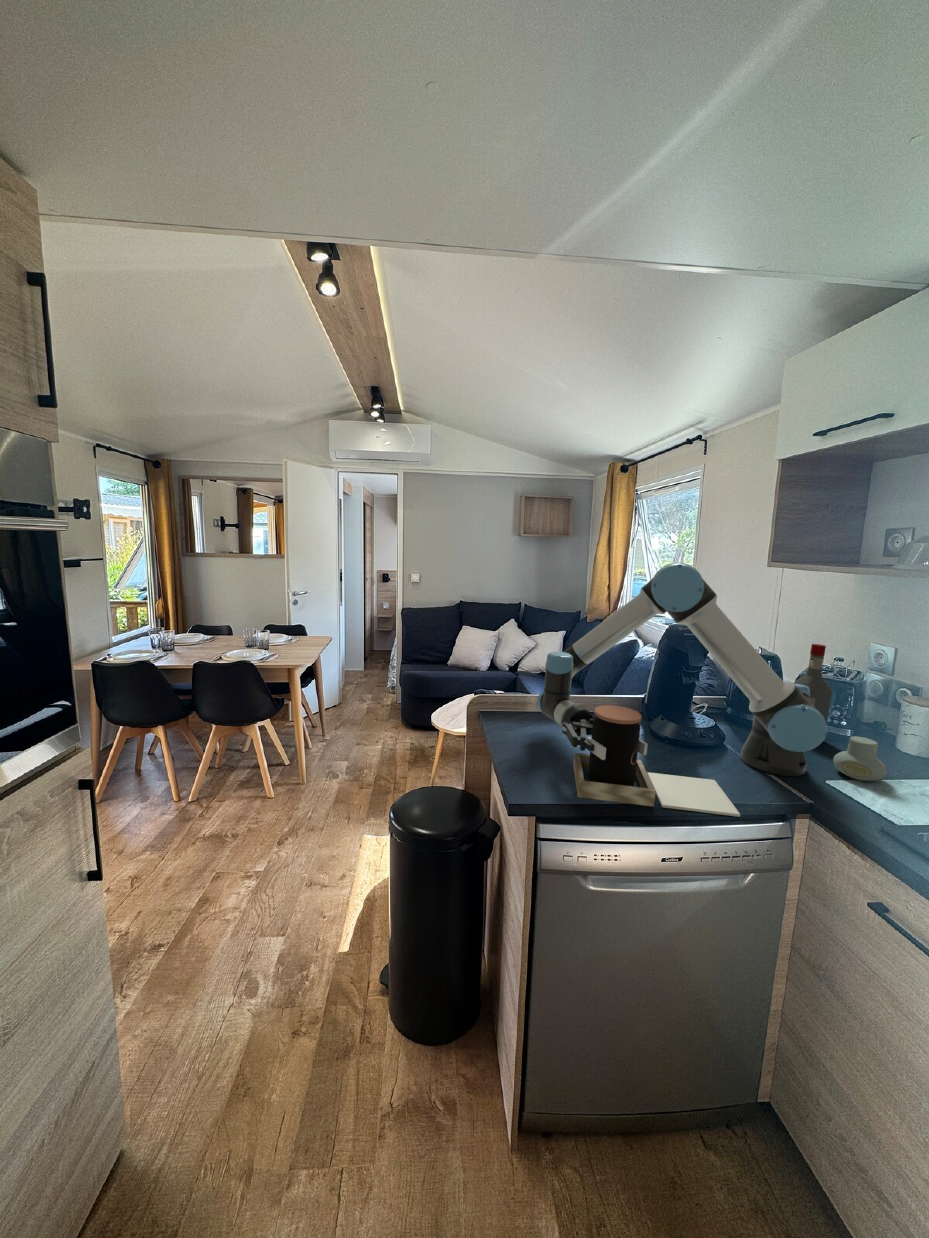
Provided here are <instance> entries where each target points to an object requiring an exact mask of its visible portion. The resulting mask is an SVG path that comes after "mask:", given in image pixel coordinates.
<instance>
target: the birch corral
mask: <svg viewBox="0 0 929 1238" xmlns="http://www.w3.org/2000/svg"><path fill="white" fill-rule="evenodd" d="M573 755H574V756H573V763H572V765H573V772H574V780H575V787H576V792H577V798H581V799H592V800H596V801H606V802H613V803H622V804H630V805H639V806H646V807H655V799H656V793H655V790H654V787H653V785H652V783H651V781H650V779H649V777H648V775H647V770H646V768H645V766H644V764H643V762H642V760H640V759H637V763H636V773H635V779H636V780H637V782H638V785H639V786H634V787H632V786H624V785H616V784H607V783H599V782H591V781H590V780H585V779H584V772H583V770H589V760H590V753H589V754H587V753H578V752H574V754H573Z"/></svg>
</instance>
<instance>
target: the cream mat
mask: <svg viewBox="0 0 929 1238" xmlns="http://www.w3.org/2000/svg"><path fill="white" fill-rule="evenodd" d="M646 772H647V771H646ZM647 775H648V777H649V779H650V781H651V783H652V785H653V787H654V790H655V796H656V797H657V799H658V801H659V803H660V806H661V808H665V809H666V808H667V809H674V810H683V811H689V812H690V811H692V812H698V813H706V814H714V815H720V816H721V815H723V816H731V817H736V818H737V817H738V818H740V817H741V814H740V812H739V810H738V809H737V807H736V806H735V805H734V804H733V802H732V801H731V800H730V799H729V797H728V796H727V794H726V793H725V792H724V790H723V789H722V787H720V785H719V784H718V783H717V781H716V780H715V779H709V778H699V777H693V776H692V777H691V776H685V775H684V776H682V775H674V774H667V773H666V774H664V773H657V772H650V771H649V772H647Z"/></svg>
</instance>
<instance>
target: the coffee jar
mask: <svg viewBox="0 0 929 1238" xmlns="http://www.w3.org/2000/svg"><path fill="white" fill-rule="evenodd" d="M593 714H594V716H593V718H594V720H593V728H592V735H591V738H592V739H593V740H595V741H596V742H598V743H599V744H601V745H602V746H604V747H605V748H606V756H605V760H602V759H600V758H599V757H598V756H596V755H595V754H593V753H592V752H591V751H589V752H590V753H589V754H590V760H589V769H588V773H587V778H588V781H591V782H599V783H607V784H616V785H624V786H632V787H635V781H636V775H635V773H636V763H637V760H638V754H639V752H638V745H639V739H640V734H641V724H640V722H641V721H642V714H641V713H640V712H638V711H637V710H635V709H633V708H629V707H625V706H620V705H613V704H612V705H610V704H606V705H605V704H604V705H603V704H602V705H599V706H596V707H594V710H593Z"/></svg>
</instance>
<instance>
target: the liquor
mask: <svg viewBox="0 0 929 1238" xmlns="http://www.w3.org/2000/svg"><path fill="white" fill-rule="evenodd" d="M826 648H827V647H826V645H824V644H818V643H811V647H810V653H809V654H810V658H809V663H808V667H807V668H808V669H807V671H806V674H804V675H802V676H801V677H799V678H798V679H796V680H794V681H793V683H795V684H800V685H805V686H807V687H809V689H810V697H809V702H810V703H811V704H812V705H813V706H814V707H815V709H816V710H818V711H819V712H820V713H821V714H822V715H823V716H824V718H825V721H826V724H827V725H828V719H829V714H830V713H829V712H830V707H831V701H832V695H833V691H832V687H831V686H830V685H829V683H827V681H826V680H825V679H824V678H823V676H822V675H823V673H822V669H823V662H824V657H825V653H826ZM824 741H825V739H824V740H823V742H824Z"/></svg>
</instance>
